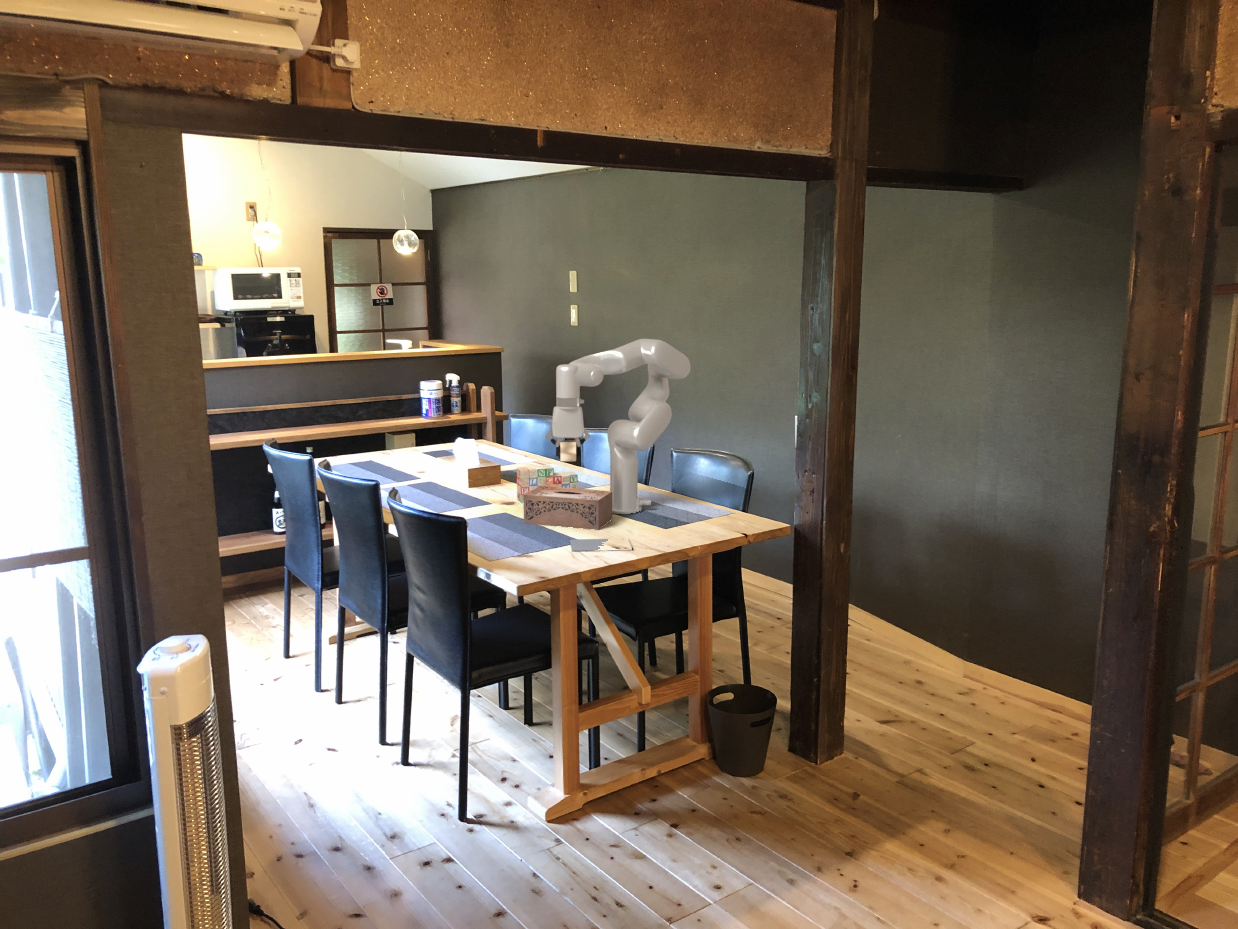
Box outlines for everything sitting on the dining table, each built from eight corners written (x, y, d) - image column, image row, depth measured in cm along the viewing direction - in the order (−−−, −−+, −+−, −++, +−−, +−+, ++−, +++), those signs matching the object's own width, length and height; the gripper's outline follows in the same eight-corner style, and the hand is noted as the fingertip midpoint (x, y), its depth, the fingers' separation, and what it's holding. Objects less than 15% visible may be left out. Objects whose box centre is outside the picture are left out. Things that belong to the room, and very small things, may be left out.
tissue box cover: (523, 524, 308) (523, 494, 306) (540, 514, 321) (540, 485, 319) (598, 530, 300) (598, 500, 298) (612, 520, 314) (612, 491, 312)
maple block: (575, 458, 309) (575, 440, 308) (576, 461, 304) (576, 442, 303) (559, 458, 309) (559, 440, 308) (560, 461, 304) (560, 442, 303)
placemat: (628, 539, 289) (628, 538, 289) (633, 550, 277) (633, 549, 277) (569, 540, 287) (569, 539, 287) (572, 551, 275) (572, 550, 275)
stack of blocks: (573, 495, 349) (573, 463, 347) (578, 499, 343) (578, 466, 341) (516, 499, 342) (516, 466, 340) (521, 503, 336) (520, 469, 334)
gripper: (593, 401, 308) (592, 456, 311) (541, 401, 306) (541, 456, 309) (595, 404, 300) (594, 460, 304) (541, 404, 298) (542, 460, 302)
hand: (567, 457), depth 306 cm, fingers closed on maple block, 5 cm apart
